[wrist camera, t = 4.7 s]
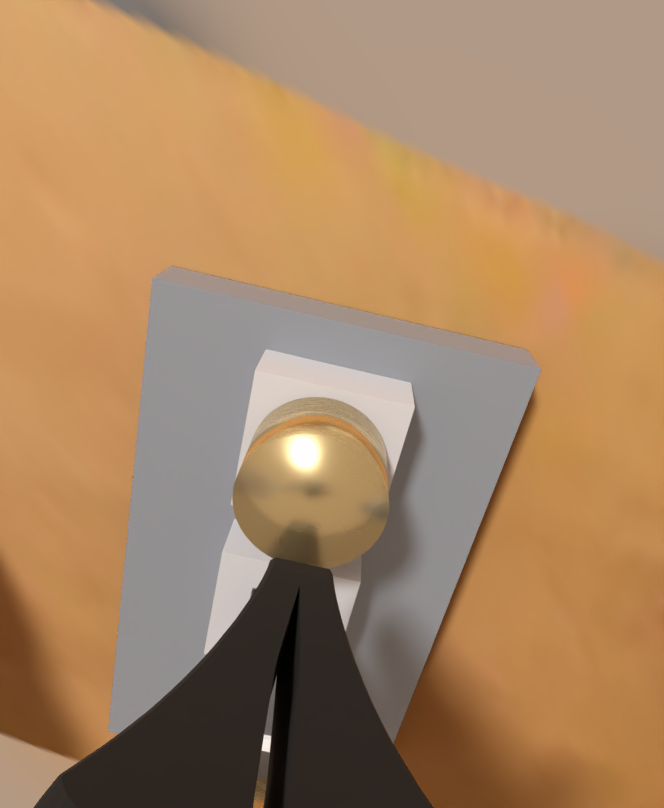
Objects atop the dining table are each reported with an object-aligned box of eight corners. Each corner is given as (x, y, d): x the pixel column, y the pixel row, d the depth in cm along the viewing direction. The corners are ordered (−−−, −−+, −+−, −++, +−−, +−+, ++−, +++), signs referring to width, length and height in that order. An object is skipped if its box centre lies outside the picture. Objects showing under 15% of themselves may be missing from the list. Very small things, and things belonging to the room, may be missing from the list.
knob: (251, 471, 22) (222, 550, 17) (272, 360, 20) (245, 418, 16) (368, 497, 22) (367, 582, 18) (400, 390, 20) (407, 455, 16)
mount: (124, 695, 30) (89, 772, 26) (171, 265, 21) (129, 291, 17) (375, 749, 30) (375, 832, 27) (527, 349, 21) (558, 392, 18)
